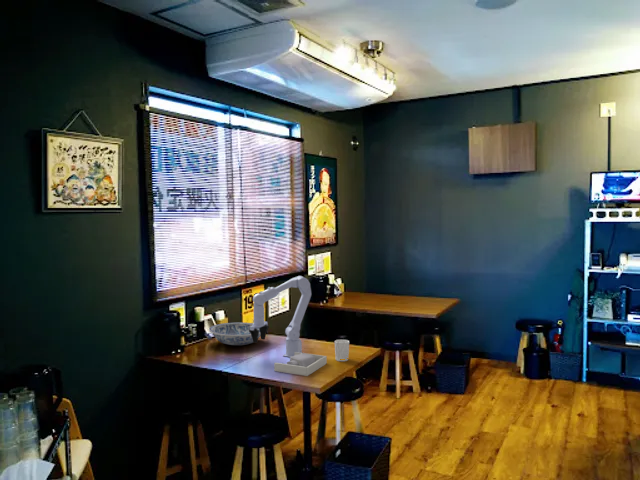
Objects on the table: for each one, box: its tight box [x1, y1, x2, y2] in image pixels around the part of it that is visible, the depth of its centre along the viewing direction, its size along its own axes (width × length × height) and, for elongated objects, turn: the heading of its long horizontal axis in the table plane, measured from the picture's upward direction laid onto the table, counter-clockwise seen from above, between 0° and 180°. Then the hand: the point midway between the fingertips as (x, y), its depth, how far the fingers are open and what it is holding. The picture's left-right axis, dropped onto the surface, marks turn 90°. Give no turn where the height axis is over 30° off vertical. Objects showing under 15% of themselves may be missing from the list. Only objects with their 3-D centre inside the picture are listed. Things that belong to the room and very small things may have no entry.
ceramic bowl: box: [208, 321, 261, 346], centre depth 294 cm, size 34×34×10 cm
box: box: [273, 352, 328, 377], centre depth 247 cm, size 22×18×4 cm
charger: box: [286, 352, 315, 367], centre depth 250 cm, size 5×9×15 cm
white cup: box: [334, 339, 350, 362], centre depth 260 cm, size 8×8×10 cm
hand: (259, 340), depth 264 cm, fingers open, 7 cm apart
